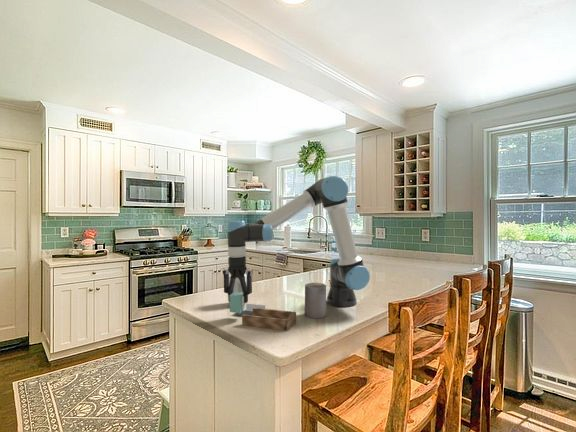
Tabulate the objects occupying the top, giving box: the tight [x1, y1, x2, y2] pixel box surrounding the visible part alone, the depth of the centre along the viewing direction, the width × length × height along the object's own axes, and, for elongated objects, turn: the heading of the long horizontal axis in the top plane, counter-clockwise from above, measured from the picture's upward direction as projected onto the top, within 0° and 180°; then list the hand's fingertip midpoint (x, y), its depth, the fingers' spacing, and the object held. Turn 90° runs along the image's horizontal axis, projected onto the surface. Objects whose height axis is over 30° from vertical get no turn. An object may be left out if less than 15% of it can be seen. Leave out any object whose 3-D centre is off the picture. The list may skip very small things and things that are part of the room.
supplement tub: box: [228, 273, 249, 305], centre depth 158 cm, size 10×10×15 cm
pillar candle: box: [304, 281, 327, 319], centre depth 142 cm, size 10×10×15 cm
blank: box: [228, 292, 243, 314], centre depth 136 cm, size 5×6×7 cm
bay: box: [241, 308, 297, 332], centre depth 131 cm, size 20×11×4 cm, turn 72°
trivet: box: [235, 303, 266, 317], centre depth 145 cm, size 10×10×2 cm
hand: (238, 309), depth 136 cm, fingers closed on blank, 5 cm apart
